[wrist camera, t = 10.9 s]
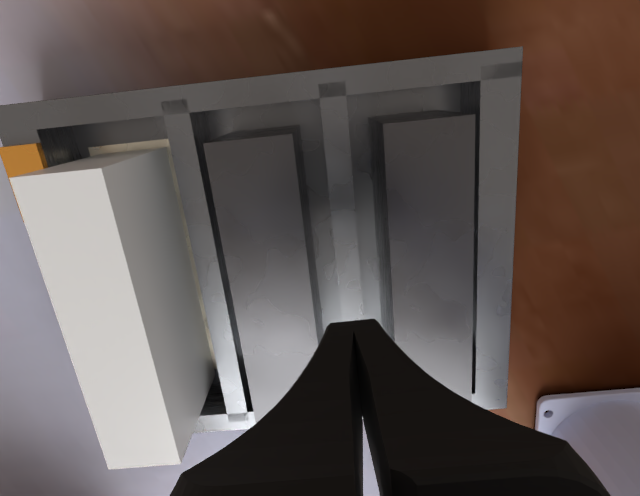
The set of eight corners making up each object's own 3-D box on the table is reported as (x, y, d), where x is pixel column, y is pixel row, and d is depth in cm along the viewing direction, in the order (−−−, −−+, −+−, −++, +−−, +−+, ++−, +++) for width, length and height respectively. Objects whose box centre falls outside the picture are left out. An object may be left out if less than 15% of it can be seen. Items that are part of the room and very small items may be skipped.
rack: (482, 367, 24) (529, 447, 19) (130, 397, 25) (76, 482, 19) (489, 54, 19) (558, 37, 13) (42, 105, 20) (-66, 108, 14)
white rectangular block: (215, 374, 23) (180, 464, 18) (160, 379, 23) (108, 469, 18) (166, 147, 19) (101, 168, 14) (100, 153, 19) (9, 177, 14)
